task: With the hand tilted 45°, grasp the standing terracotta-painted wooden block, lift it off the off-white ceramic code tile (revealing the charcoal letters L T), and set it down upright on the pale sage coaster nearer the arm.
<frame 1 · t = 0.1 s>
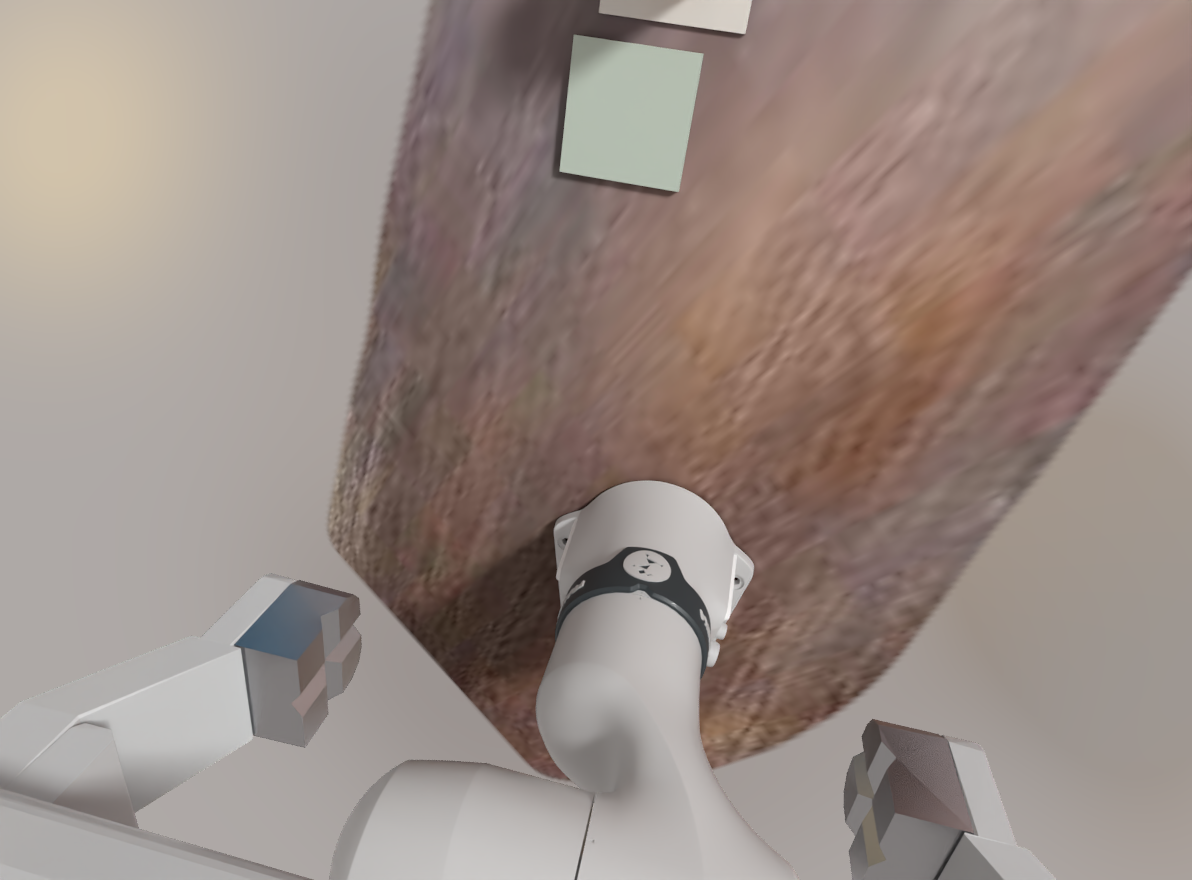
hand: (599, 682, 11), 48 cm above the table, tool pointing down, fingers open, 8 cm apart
coaster: (628, 115, 52), on the table
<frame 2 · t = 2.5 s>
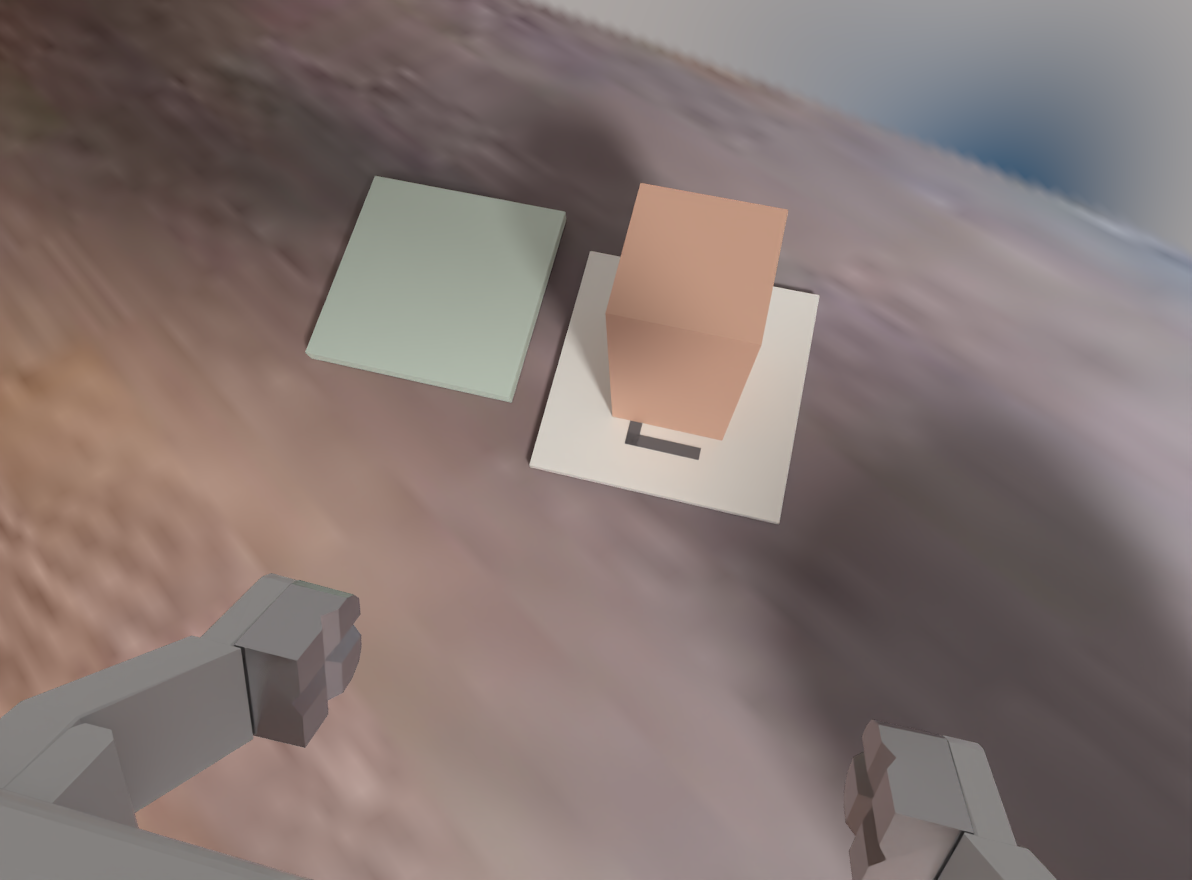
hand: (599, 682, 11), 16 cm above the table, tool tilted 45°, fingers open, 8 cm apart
coaster: (441, 287, 32), on the table
code tile: (678, 380, 30), on the table
block: (678, 377, 30), resting on code tile
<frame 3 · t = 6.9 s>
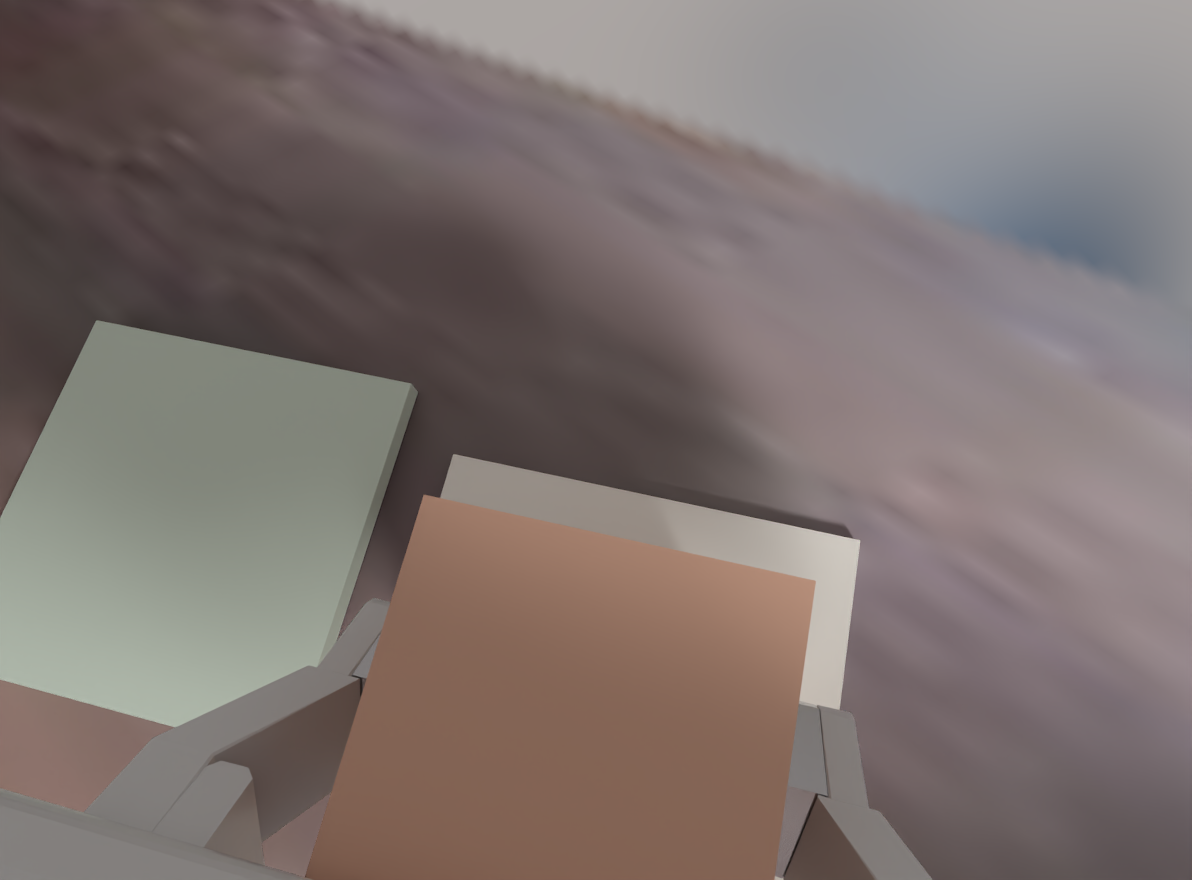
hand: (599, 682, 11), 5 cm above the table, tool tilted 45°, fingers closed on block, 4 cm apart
coaster: (195, 520, 18), on the table
code tile: (604, 710, 16), on the table
block: (603, 710, 16), resting on code tile, touching gripper
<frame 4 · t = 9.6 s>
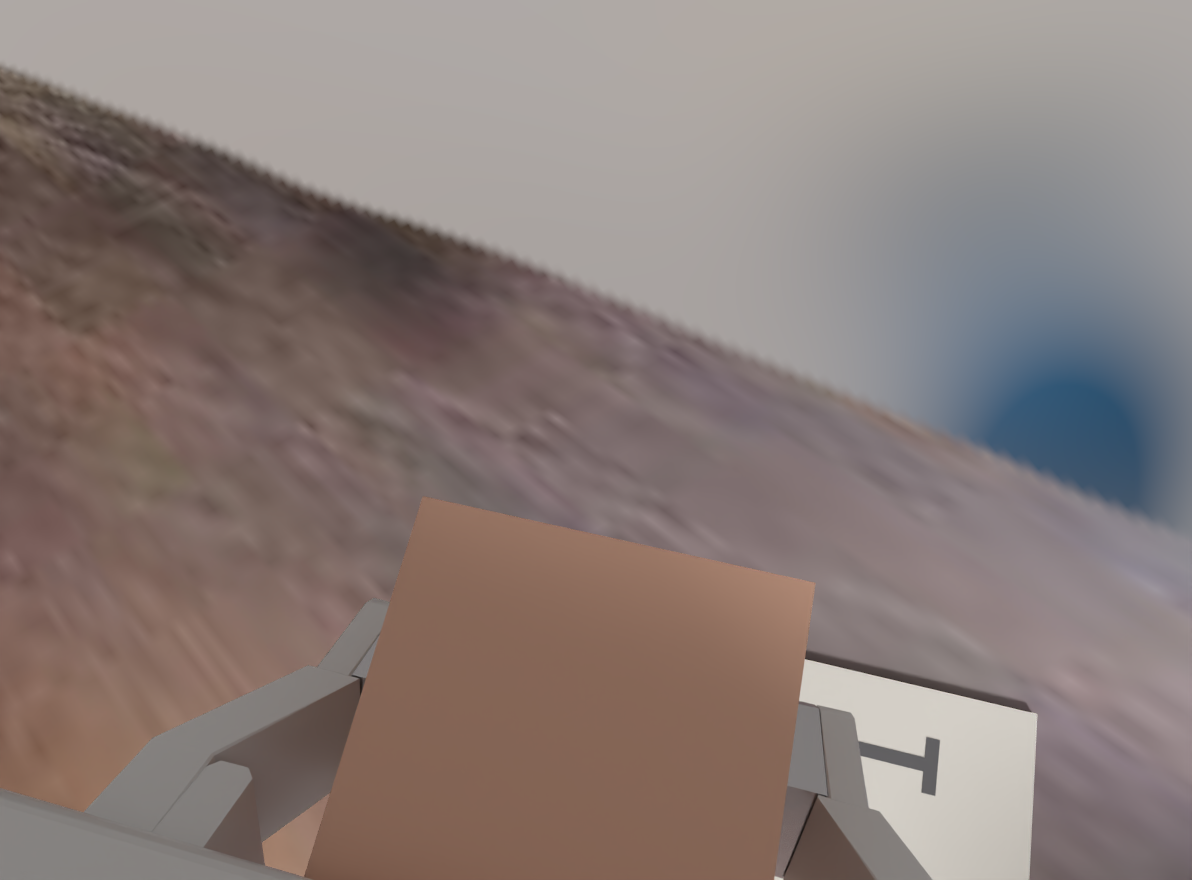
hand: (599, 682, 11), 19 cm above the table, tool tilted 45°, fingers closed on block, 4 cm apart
code tile: (888, 818, 27), on the table
block: (603, 712, 16), point 14 cm above the table, touching gripper
when the fingers open (7 cm above the table, at t = 12.5 s): block drops 1 cm, resting on coaster.
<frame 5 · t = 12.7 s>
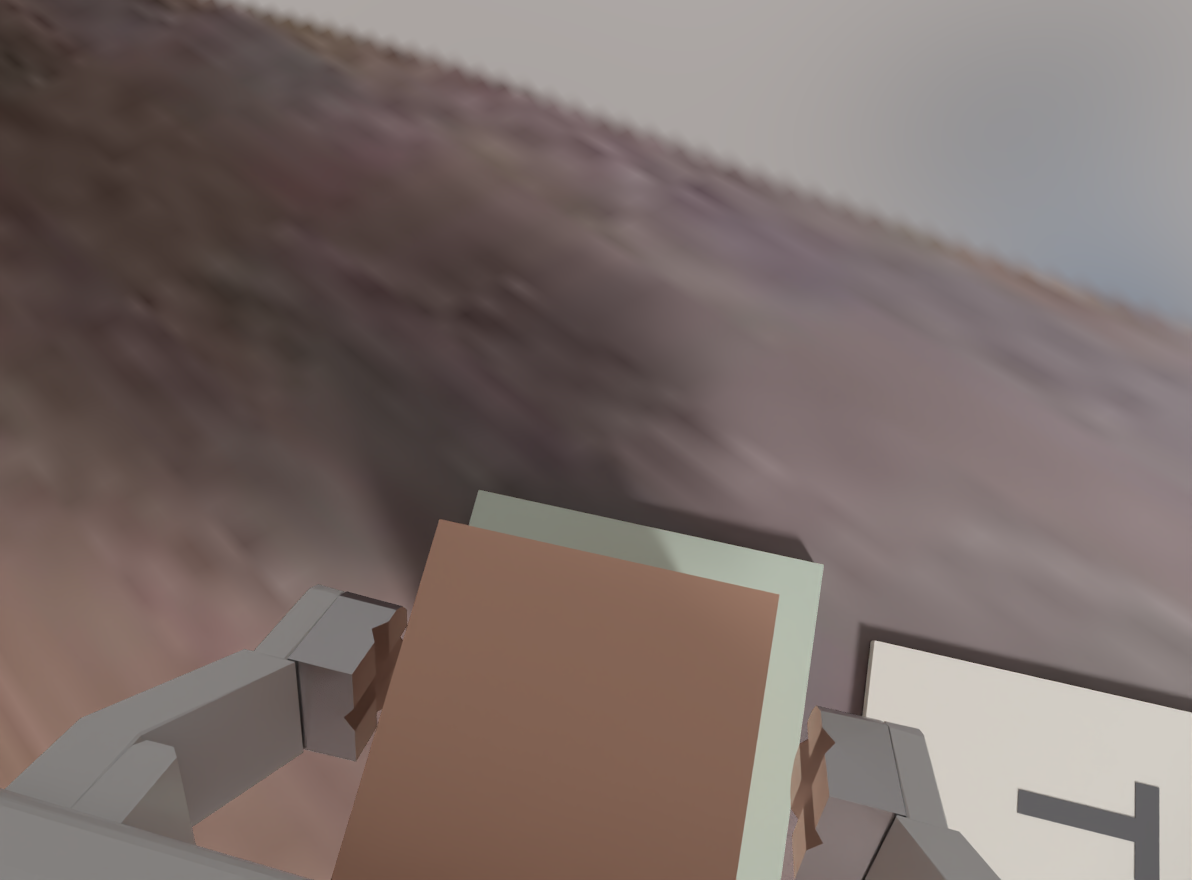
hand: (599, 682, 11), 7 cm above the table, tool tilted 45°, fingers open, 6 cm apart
coaster: (608, 707, 18), on the table
block: (602, 709, 17), point 1 cm above the table, touching coaster
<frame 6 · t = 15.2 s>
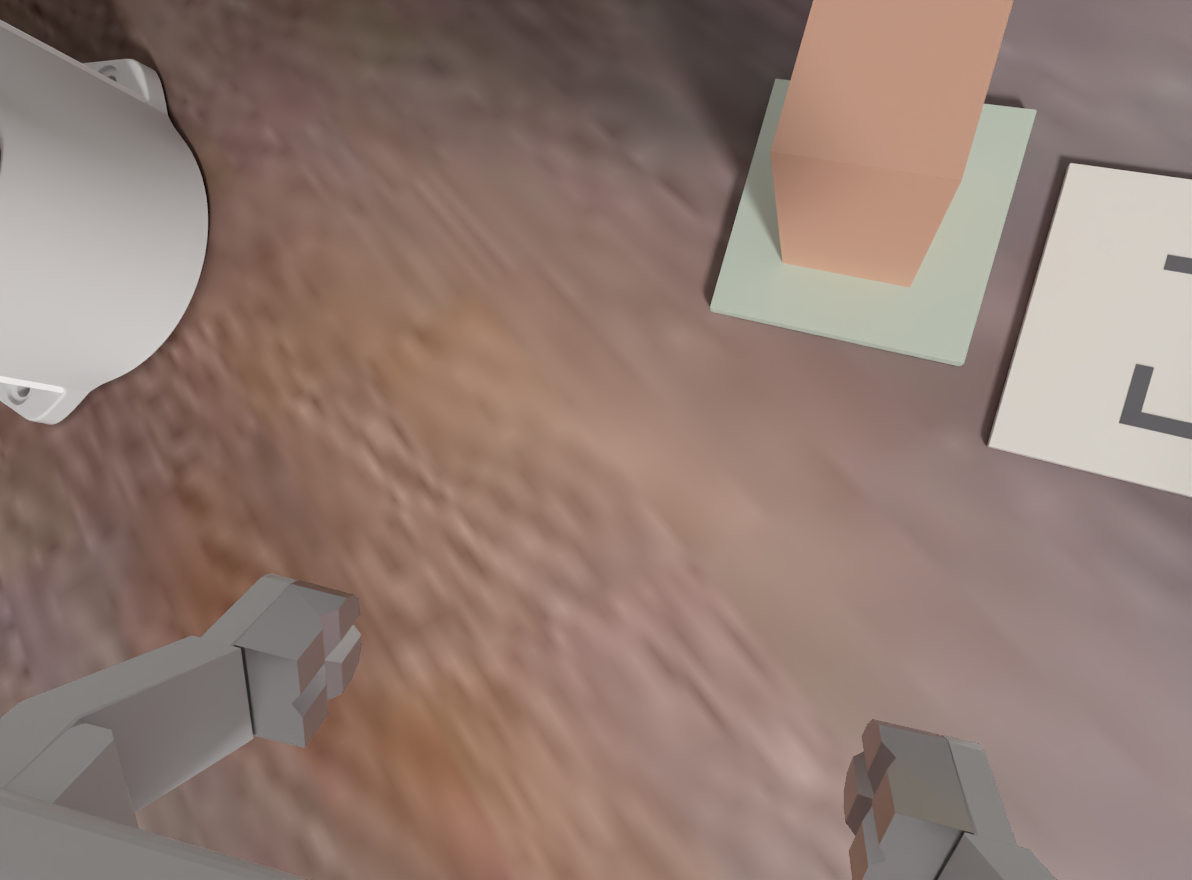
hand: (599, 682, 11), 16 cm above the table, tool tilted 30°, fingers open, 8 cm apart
coaster: (863, 220, 27), on the table
block: (861, 214, 26), point 1 cm above the table, touching coaster
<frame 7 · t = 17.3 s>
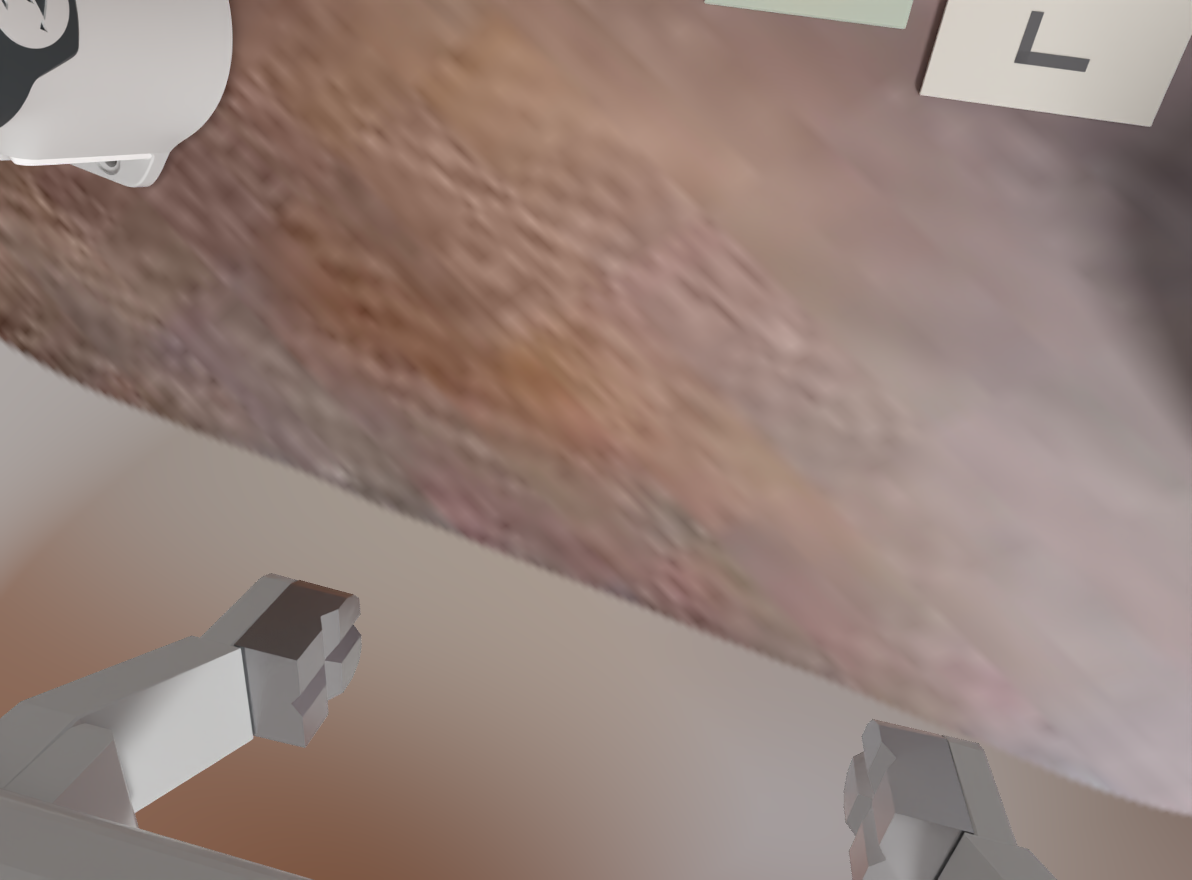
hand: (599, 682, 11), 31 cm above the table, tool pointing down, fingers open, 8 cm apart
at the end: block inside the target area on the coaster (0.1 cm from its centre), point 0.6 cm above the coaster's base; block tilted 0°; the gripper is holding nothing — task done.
